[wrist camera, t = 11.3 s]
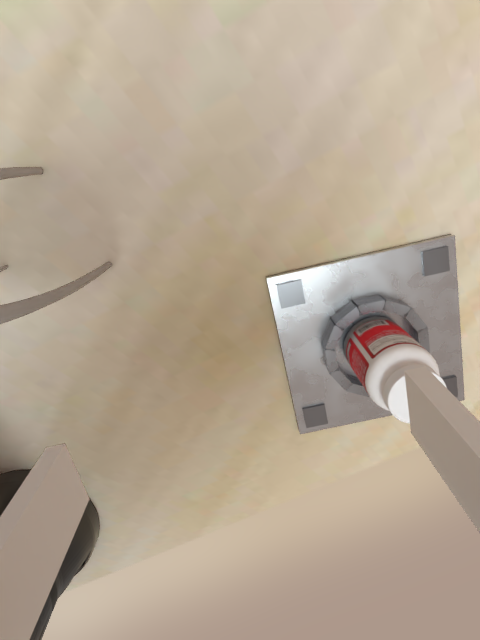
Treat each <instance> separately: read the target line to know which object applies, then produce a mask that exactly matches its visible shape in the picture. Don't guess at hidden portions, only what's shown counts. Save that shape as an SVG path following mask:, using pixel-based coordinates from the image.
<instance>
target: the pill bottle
mask: <svg viewBox="0 0 480 640" xmlns="http://www.w3.org/2000/svg"><path fill="white" fill-rule="evenodd" d="M344 354H345V357H346V359H347V361H348V363H349V365H350V366H351V368H352V370H353V371H354V373H355V374H356V376H357V377H358V379H359V380H360V382H361V383H362V385H363V387H364V388H365V390H366V391H367V393H368V395H369V396H370V397H371V399H372V400H373V401H374V402H375V403H376V404H377V405H378V406H380V407H381V408H383V409H385V410H388V411H390V412H391V413H392V415H393V416H394V417H395V418H397V419H398V420H400V421H402V422H405V423H410V418H409V409H408V400H407V391H406V382H405V373H404V371H406V370H410V369H415V368H420V367H424V366H425V367H426V368H427V369H428V370H429V371H430V372H431V373H432V374H433V375H434V376H435V377H436V378H437V379H438V380H439V381H440V382H441V383H442V384H443V385H444V386H445V387H446V384H445V382H444V381H443V379H442V378H441V377H440V373H439V368H438V365H437V363H436V360H435V359H434V358H433V356H432V355H431V354H430V353H429V352H428V351H427V350H426V349H425V348H423V347H422V346H421V345H420V344H419V343H418V342H417V341H416V340H415V339H414V338H412V337H411V336H410V335H409V334H408V333H407V332H406V331H405V330H403V329H402V328H401V327H400V326H399V325H398V324H396V323H395V322H394V321H392V320H390V319H388V318H385V317H369V318H366V319H363V320H361V321H360V322H358V323H357V324H355V325H354V326H353V327H352V328H351V329H350V331H349V332H348V334H347V336H346V338H345V342H344ZM446 388H447V387H446Z"/></svg>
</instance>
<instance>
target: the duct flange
mask: <svg viewBox="0 0 480 640" xmlns="http://www.w3.org/2000/svg"><path fill="white" fill-rule="evenodd" d="M266 279H267V284H268V289H269V293H270V298H271V303H272V307H273V312H274V317H275V321H276V326H277V330H278V335H279V340H280V344H281V349H282V354H283V358H284V363H285V368H286V372H287V377H288V381H289V386H290V391H291V395H292V400H293V405H294V409H295V414H296V419H297V423H298V428H299V432H300V434H304V433H308V432H313V431H318V430H323V429H328V428H332V427H337V426H342V425H347V424H352V423H356V422H361V421H366V420H371V419H376V418H380V417H385V416H390V415H392V413H391V412H390V411H388V410H385V409H383V408H381V407H380V406H378V405H377V404H376V403H375V402H374V401H373V400H372V399H371V397H370V396H369V395H368V393H367V391H366V390H365V388H364V387H363V385H362V383H361V382H360V380H359V379H358V377H357V376H356V374H355V373H354V371H353V370H352V368H351V366H350V365H349V363H348V361H347V359H346V357H345V354H344V342H345V338H346V336H347V334H348V332H349V331H350V329H351V328H352V327H353V326H354V325H355V324H357V323H358V322H360V321H361V320H363V319H366V318H369V317H385V318H388V319H390V320H392V321H394V322H395V323H396V324H398V325H399V326H400V327H401V328H402V329H403V330H405V331H406V332H407V333H408V334H409V335H410V336H411V337H412V338H414V339H415V340H416V341H417V342H418V343H419V344H420V345H421V346H422V347H423V348H425V349H426V350H427V351H428V352H429V353H430V354H431V355H432V356H433V358H434V359H435V360H436V363H437V365H438V368H439V373H440V377H441V378H442V379H443V381H444V382H445V384H446V387H447V389H448V390H449V391H450V392H451V393H452V394H453V395H454V396H455V397H456V398H457V399H458V400H459V401H462V400H464V383H463V366H462V349H461V332H460V315H459V298H458V281H457V264H456V247H455V235H451V234H450V235H445V236H441V237H437V238H432V239H428V240H424V241H419V242H415V243H411V244H406V245H402V246H398V247H393V248H389V249H385V250H380V251H376V252H372V253H367V254H363V255H358V256H354V257H350V258H345V259H341V260H337V261H332V262H328V263H324V264H319V265H315V266H311V267H306V268H302V269H298V270H293V271H289V272H285V273H280V274H276V275H272V276H267V277H266Z"/></svg>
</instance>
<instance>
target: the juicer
mask: <svg viewBox="0 0 480 640" xmlns="http://www.w3.org/2000/svg"><path fill="white" fill-rule="evenodd" d="M42 173H43V169H42V168H41V167H13V168H2V169H0V180H2V179H7V178H14V177H21V176H28V175H37V174H42ZM111 266H112V264H111V263H110V262H107V263H105V264H103V265H102V266H100V267H99V268H97V269H95V270H93V271H92V272H90V273H88V274H86V275H84V276H83V277H81V278H79V279H77V280H75V281H73V282H71V283H68V284H66V285H64V286H62V287H59V288H57V289H55V290H52V291H49V292H46V293H43V294H41V295H38V296H35V297H31V298H28V299H24V300H21V301H17V302H13V303H9V304H4V305H0V324H2V323H5V322H8V321H11V320H14V319H16V318H19V317H22V316H24V315H27V314H29V313H32V312H34V311H36V310H39V309H41V308H43V307H45V306H47V305H50V304H52V303H54V302H56V301H58V300H60V299H62V298H64V297H66V296H68V295H70V294H72V293H73V292H75V291H77V290H79V289H80V288H82V287H83V286H85V285H86V284H88V283H89V282H91V281H92V280H94V279H95V278H97V277H98V276H99V275H101V274H102V273H103V272H105V271H106V270H107V269H108V268H109V267H111ZM7 268H8V265H5V266H3V267H0V272H1V271H3V270H5V269H7Z"/></svg>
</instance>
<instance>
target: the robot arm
mask: <svg viewBox="0 0 480 640" xmlns="http://www.w3.org/2000/svg"><path fill="white" fill-rule="evenodd" d="M404 373H405V382H406V391H407V400H408V409H409V418H410V427H411V433H412V435H413V436H414V438H415V439H416V441H417V442H418V444H419V445H420V447H421V448H422V449H423V451H424V452H425V454H426V455H427V457H428V458H429V459H430V461H431V462H432V464H433V465H434V467H435V468H436V470H437V471H438V473H439V474H440V476H441V477H442V479H443V480H444V482H445V483H446V484H447V485H448V487H449V489H450V490H451V492H452V493H453V495H454V496H455V497H456V499H457V500H458V502H459V503H460V505H461V506H462V508H463V509H464V511H465V512H466V514H467V515H468V517H469V518H470V519H471V521H472V522H473V524H474V525H475V527H476V528H477V530H478V531H479V533H480V422H479V421H478V420H477V419H476V418H475V416H474V415H473V414H472V413H471V412H470V411H469V410H468V409H467V408H466V407H465V406H464V405H463V404H462V403H461V402H460V401H459V400H458V399H457V398H456V397H455V396H454V395H453V394H452V393H451V392H450V391H449V390H448V389H447V388H446V387H445V386H444V385H443V384H442V383H441V382H440V381H439V380H438V379H437V378H436V377H435V376H434V375H433V374H432V373H431V372H430V371H429V370H428V369H427V368H426V367H425V366H424V367H420V368H415V369H410V370H406V371H404ZM98 534H99V519H98V515H97V512H96V510H95V508H94V506H93V504H92V503H91V501H90V500H89V497H88V494H87V492H86V490H85V487H84V485H83V483H82V481H81V478H80V476H79V474H78V472H77V469H76V467H75V465H74V462H73V460H72V458H71V456H70V453H69V451H68V449H67V447H66V444H65V443H64V444H59V445H55V446H50V447H46V448H45V450H44V451H43V453H42V454H41V456H40V457H39V459H38V460H37V462H36V463H35V465H34V466H33V468H32V469H31V470H21V471H12V472H8V473H4V474H1V475H0V640H41V639H42V637H43V634H44V632H45V629H46V627H47V624H48V622H49V619H50V616H51V613H52V611H53V609H54V606H55V604H56V601H57V599H58V598H59V597H60V595H61V594H62V593H63V592H64V590H65V589H66V588H67V586H68V585H69V583H70V582H71V580H72V579H73V577H74V576H75V575H76V574H77V573H78V572H79V571H80V570H81V569H82V568H83V567H84V566H85V564H86V563H87V562H88V560H89V558H90V556H91V554H92V552H93V549H94V547H95V544H96V541H97V538H98Z"/></svg>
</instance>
